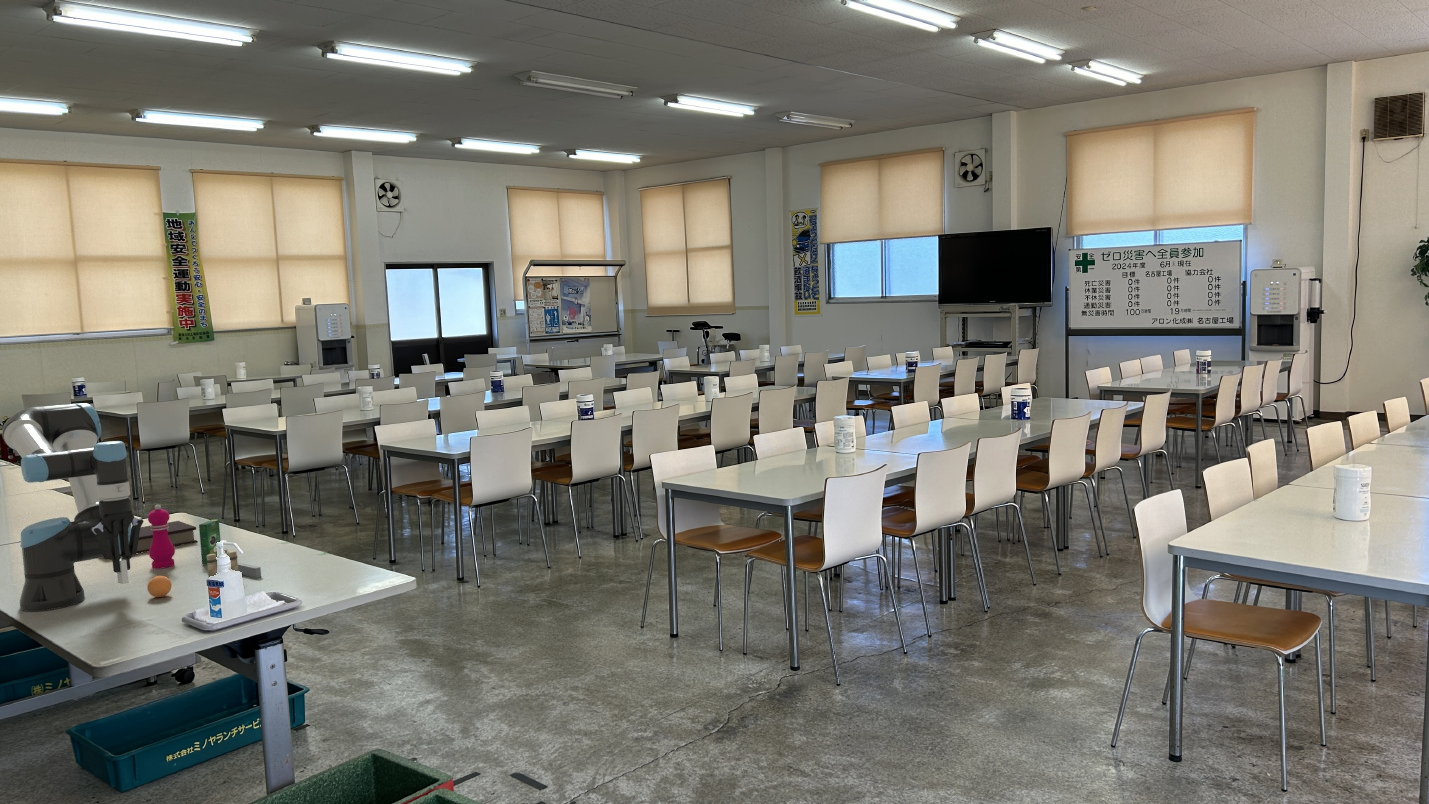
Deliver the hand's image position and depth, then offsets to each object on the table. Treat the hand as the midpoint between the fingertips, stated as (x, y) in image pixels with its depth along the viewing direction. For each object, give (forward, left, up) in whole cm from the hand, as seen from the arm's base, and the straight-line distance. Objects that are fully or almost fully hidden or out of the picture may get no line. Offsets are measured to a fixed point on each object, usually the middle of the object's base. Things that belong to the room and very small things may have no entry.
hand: (123, 582), depth 272 cm
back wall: (+35, 0, -7) cm, 36 cm away
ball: (+10, 0, -4) cm, 10 cm away
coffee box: (+39, +26, -7) cm, 48 cm away
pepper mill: (+28, +35, -7) cm, 46 cm away
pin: (+30, -2, -7) cm, 31 cm away
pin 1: (+30, +3, -7) cm, 31 cm away
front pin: (+25, 0, -7) cm, 26 cm away
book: (+39, +70, -7) cm, 81 cm away
